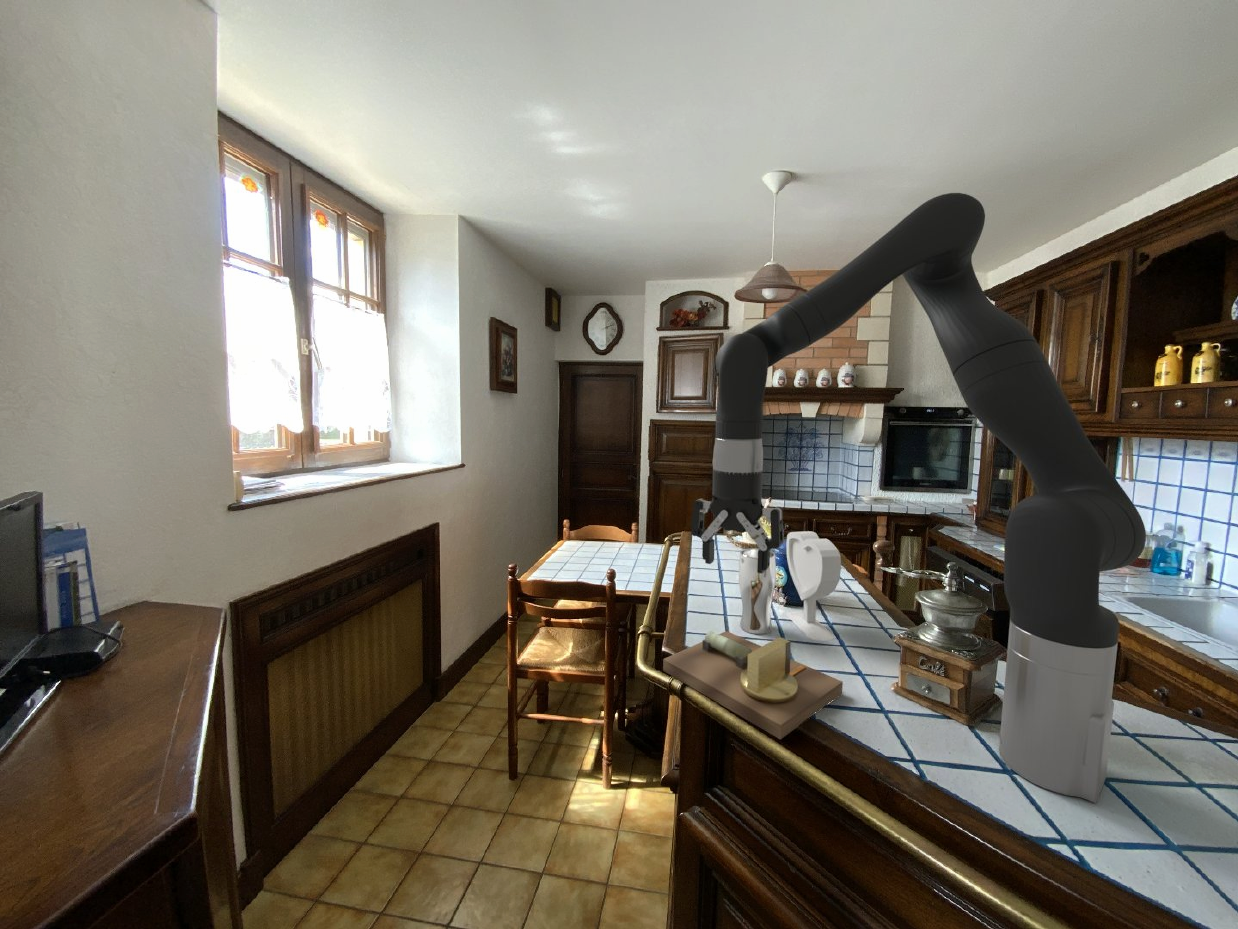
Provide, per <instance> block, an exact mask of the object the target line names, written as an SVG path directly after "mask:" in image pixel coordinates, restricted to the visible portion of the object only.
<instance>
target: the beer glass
mask: <svg viewBox="0 0 1238 929" xmlns="http://www.w3.org/2000/svg"><path fill="white" fill-rule="evenodd" d="M759 549H760V548H753V547H752V548H743V549H741V550H740V552H739V563H738V584H739V586H738V587H739V591H740V596H741V597H740V598H741V604H742V606H741V607H742V609H741V611H742V612H741V618H740V624H739V626H740V628H741V630H743V631H744V632H746V633H749V634H753V635H765V634H766V635H767V634H769V633H771V632H772V630H773V625H772V624H773V623H772V618H771V608H772V603H773V602H772V601H773V598H774V592H775V588H776V582H777V581H776V580H777V565H776V564H777V563H776V553H775V552H773V551H772V550H770V565H769V567H768V569H767V570H766V571H764V572H763V574H761V573H758V572H757V565H758V550H759Z"/></svg>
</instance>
